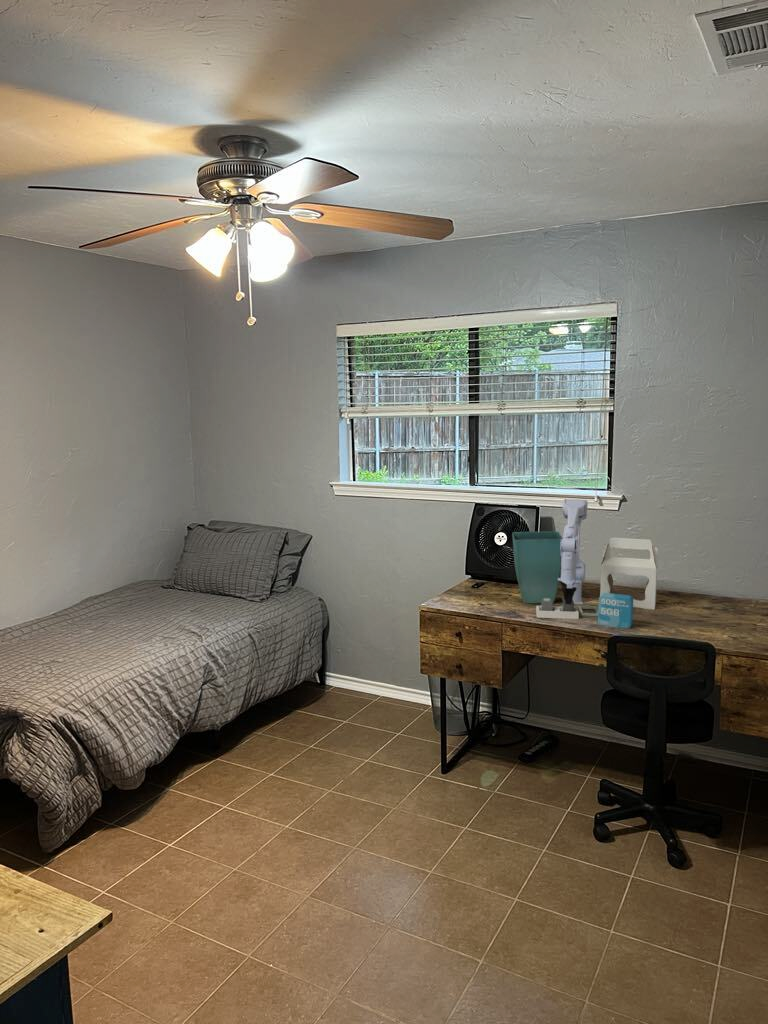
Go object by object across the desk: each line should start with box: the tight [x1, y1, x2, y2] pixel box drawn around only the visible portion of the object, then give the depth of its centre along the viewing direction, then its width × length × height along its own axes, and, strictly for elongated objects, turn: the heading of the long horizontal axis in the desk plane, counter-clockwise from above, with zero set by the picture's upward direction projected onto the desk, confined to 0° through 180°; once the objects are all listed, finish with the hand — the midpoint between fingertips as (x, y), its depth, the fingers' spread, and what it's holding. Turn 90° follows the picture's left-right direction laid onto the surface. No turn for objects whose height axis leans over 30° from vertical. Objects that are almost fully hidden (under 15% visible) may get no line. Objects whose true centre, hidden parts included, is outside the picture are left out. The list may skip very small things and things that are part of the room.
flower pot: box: [511, 531, 563, 604], centre depth 322 cm, size 20×20×28 cm
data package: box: [597, 593, 634, 630], centre depth 286 cm, size 12×4×12 cm, turn 63°
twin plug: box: [540, 598, 553, 611], centre depth 300 cm, size 4×4×6 cm
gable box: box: [599, 536, 659, 611], centre depth 316 cm, size 22×13×28 cm, turn 69°
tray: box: [577, 605, 599, 617], centre depth 304 cm, size 11×11×1 cm
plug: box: [562, 599, 575, 612], centre depth 299 cm, size 4×4×6 cm
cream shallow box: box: [535, 605, 580, 620], centre depth 300 cm, size 8×16×4 cm, turn 81°
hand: (567, 601), depth 299 cm, fingers open, 7 cm apart
